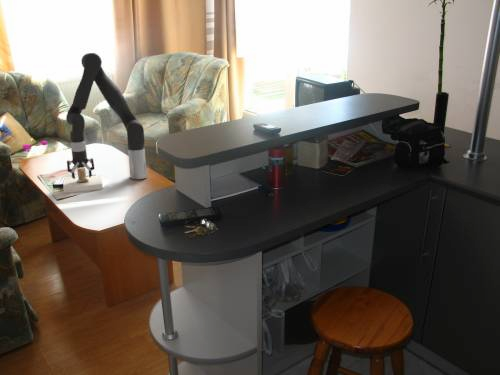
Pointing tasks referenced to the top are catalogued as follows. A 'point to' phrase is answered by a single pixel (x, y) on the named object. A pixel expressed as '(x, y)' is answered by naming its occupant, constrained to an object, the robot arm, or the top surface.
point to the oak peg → (82, 175)
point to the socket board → (82, 184)
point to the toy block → (30, 147)
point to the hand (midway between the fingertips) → (82, 177)
